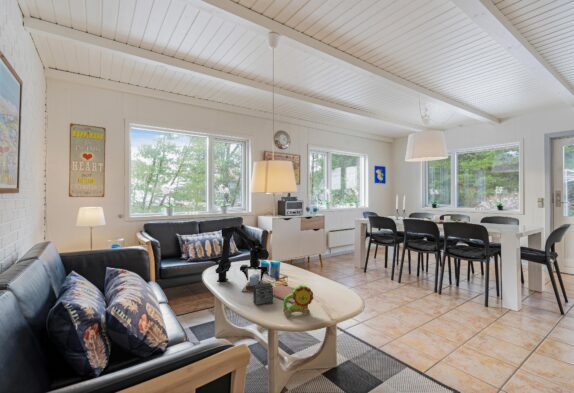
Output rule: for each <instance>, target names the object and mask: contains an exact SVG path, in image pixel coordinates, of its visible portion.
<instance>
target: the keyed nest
mask: <svg viewBox="0 0 574 393" xmlns="http://www.w3.org/2000/svg"><path fill="white" fill-rule="evenodd" d="M265 283H268V282H266V281H263V279H262V281H261V279H259V284H265ZM241 293H253V286H250V281H247V283H246V284H245V286H244V287H243V288H242V289H241Z"/></svg>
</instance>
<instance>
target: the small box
mask: <svg viewBox="0 0 574 393" xmlns="http://www.w3.org/2000/svg"><path fill="white" fill-rule="evenodd" d="M273 287H274V286H273V285H272V283H270V282H267V283H265V284H257V285H253V292H252V293H253V294H252V295H253V297H252V298H253V304H254V306H264V305H270V304H273V303H274V296H273Z"/></svg>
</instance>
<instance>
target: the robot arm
mask: <svg viewBox="0 0 574 393" xmlns="http://www.w3.org/2000/svg"><path fill="white" fill-rule="evenodd" d="M234 233H236V234H237V236H239V237H240V238H241V239H243V240H244V241H245V243H246V245H247V246H248V248H247V251H249V266H248V264H242V265H241V266H240V267H239V271H241V273H243V275H244V276H245V279H246V281H247V282H249V270H261V271H260V280H261V281H262V280H263V279H264V278H263V277H264V275H265V273H267V272H268V271H269V269H270V267H269V266H270V265H266V264H264V265H262V266H261V260H268V259H269V258H270V257H269V256H270V252H269V251H268V249H267V248H264V246H263V245H262V243H261V241H260V238H257V237H256V236H253V235H250V234H249V233H248V232H247V231H245V230H244V229H243V228H241V226H240V225H238V224H237V225H233V226H226V227H222V228H221V238H222V250H221V259H220V260H219V262H218V266H217V268H215V269H214V270H215V274H218V276H217V277H218V279H217V280H216V282H219V283H220V282H223V283H224V282H225V283H226V282H227V281H228V280H229V278H227V272H230V269H231V268H232V261H230V259H229V257H230V246H231V239H232V238H233V235H234Z"/></svg>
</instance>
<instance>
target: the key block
mask: <svg viewBox="0 0 574 393" xmlns="http://www.w3.org/2000/svg"><path fill="white" fill-rule="evenodd" d="M259 280H260V273H252V274H251V275H250V276H249V282H250V286H253V285H257V284H259Z"/></svg>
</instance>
